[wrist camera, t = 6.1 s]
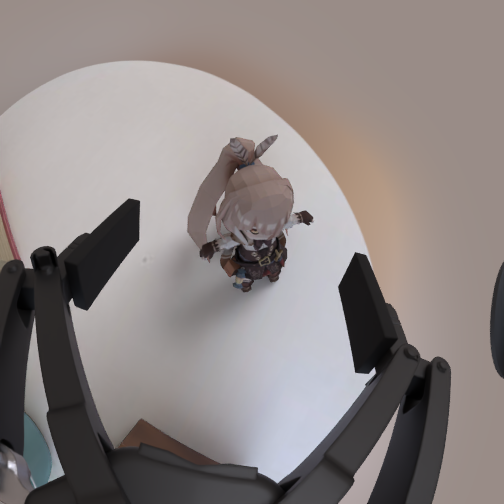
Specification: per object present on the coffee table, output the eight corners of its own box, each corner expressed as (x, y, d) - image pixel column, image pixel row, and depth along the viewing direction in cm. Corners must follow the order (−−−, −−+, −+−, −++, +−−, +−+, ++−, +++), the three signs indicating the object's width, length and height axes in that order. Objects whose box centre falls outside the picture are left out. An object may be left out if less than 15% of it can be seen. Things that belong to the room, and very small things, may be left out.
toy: (218, 318, 24) (168, 220, 11) (191, 239, 28) (146, 113, 14) (312, 282, 25) (362, 162, 12) (275, 211, 29) (284, 80, 16)
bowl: (51, 500, 17) (25, 526, 9) (-22, 418, 18) (-56, 429, 10) (90, 454, 20) (57, 488, 12) (2, 354, 21) (-43, 359, 13)
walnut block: (245, 474, 21) (250, 507, 16) (190, 528, 19) (186, 559, 13) (141, 417, 22) (121, 442, 16) (100, 479, 19) (80, 505, 13)
